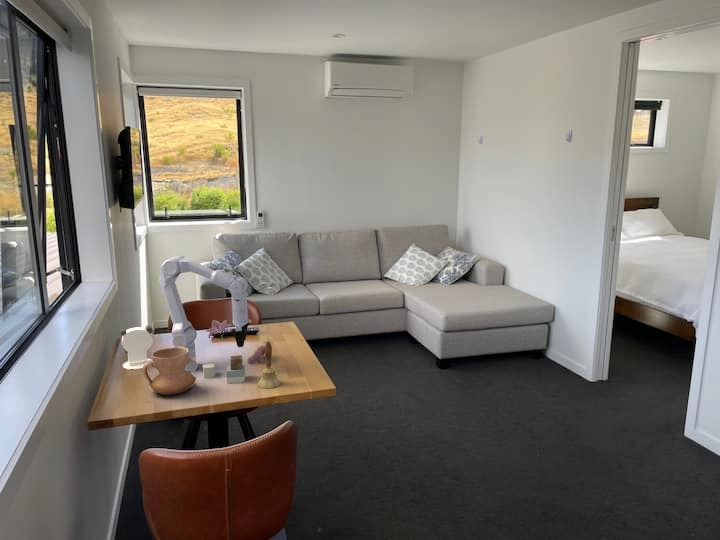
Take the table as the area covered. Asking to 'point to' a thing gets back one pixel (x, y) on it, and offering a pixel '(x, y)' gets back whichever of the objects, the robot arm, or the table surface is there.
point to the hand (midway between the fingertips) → (241, 343)
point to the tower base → (236, 379)
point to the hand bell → (268, 371)
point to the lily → (217, 327)
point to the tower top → (234, 372)
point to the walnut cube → (236, 362)
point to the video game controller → (257, 355)
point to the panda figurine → (137, 346)
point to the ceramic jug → (170, 371)
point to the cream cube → (209, 370)
